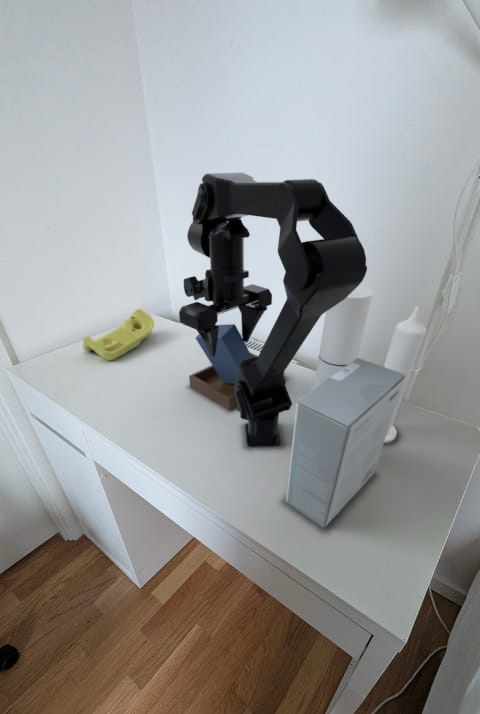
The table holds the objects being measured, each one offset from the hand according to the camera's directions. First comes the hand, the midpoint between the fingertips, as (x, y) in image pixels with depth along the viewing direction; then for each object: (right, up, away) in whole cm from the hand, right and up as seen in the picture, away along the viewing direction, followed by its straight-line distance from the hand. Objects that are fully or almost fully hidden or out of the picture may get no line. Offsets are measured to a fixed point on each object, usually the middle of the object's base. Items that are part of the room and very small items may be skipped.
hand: (229, 348), depth 68 cm
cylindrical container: (+21, -12, +6) cm, 25 cm away
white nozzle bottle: (+30, -17, 0) cm, 34 cm away
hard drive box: (+17, -26, -11) cm, 33 cm away
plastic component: (-31, +8, +30) cm, 44 cm away
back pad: (+2, -4, +11) cm, 12 cm away
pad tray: (+2, -5, +14) cm, 15 cm away
